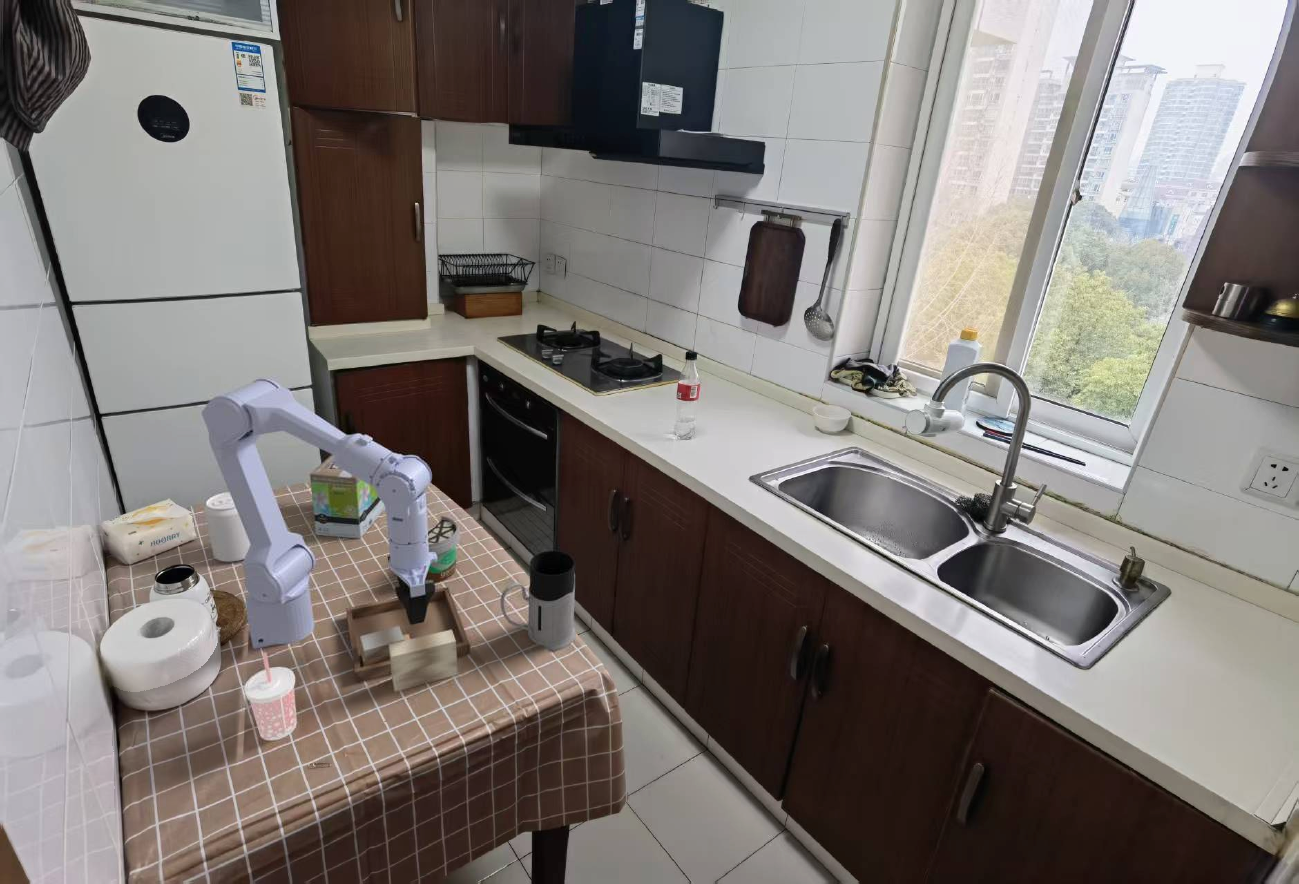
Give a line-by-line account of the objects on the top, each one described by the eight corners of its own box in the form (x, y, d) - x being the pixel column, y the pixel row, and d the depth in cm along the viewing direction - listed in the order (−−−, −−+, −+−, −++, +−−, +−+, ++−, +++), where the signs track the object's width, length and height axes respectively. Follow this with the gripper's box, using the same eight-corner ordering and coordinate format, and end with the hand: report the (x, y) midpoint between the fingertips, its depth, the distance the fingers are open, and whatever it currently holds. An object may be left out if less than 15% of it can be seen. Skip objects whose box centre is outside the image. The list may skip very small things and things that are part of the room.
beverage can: (263, 557, 134) (254, 504, 129) (215, 568, 129) (204, 513, 124) (258, 538, 140) (249, 487, 135) (212, 548, 135) (201, 495, 130)
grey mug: (585, 637, 119) (588, 566, 113) (515, 671, 110) (515, 596, 104) (557, 612, 125) (559, 543, 119) (488, 643, 116) (487, 569, 110)
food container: (443, 596, 127) (441, 551, 123) (413, 590, 127) (410, 545, 124) (472, 561, 138) (471, 519, 134) (444, 556, 139) (442, 514, 135)
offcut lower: (364, 671, 106) (362, 661, 106) (361, 654, 110) (360, 645, 109) (413, 658, 110) (412, 649, 109) (409, 643, 113) (408, 633, 112)
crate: (357, 686, 104) (355, 672, 103) (347, 621, 118) (345, 608, 117) (470, 657, 112) (469, 644, 111) (448, 599, 126) (448, 587, 125)
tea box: (362, 539, 142) (356, 477, 136) (315, 536, 142) (306, 473, 136) (389, 505, 156) (384, 447, 150) (345, 502, 156) (339, 444, 150)
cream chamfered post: (394, 692, 103) (391, 656, 100) (392, 679, 106) (388, 644, 103) (457, 676, 107) (455, 641, 105) (453, 664, 110) (451, 629, 107)
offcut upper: (365, 660, 106) (364, 650, 105) (361, 646, 109) (360, 636, 108) (405, 649, 109) (404, 639, 108) (399, 635, 112) (398, 625, 111)
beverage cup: (291, 708, 100) (277, 632, 94) (310, 730, 96) (298, 653, 91) (246, 731, 95) (230, 653, 90) (266, 756, 92) (249, 676, 86)
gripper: (444, 555, 98) (447, 629, 104) (427, 508, 110) (430, 578, 115) (393, 564, 95) (399, 640, 101) (381, 515, 107) (387, 586, 112)
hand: (413, 607), depth 108 cm, fingers open, 7 cm apart
